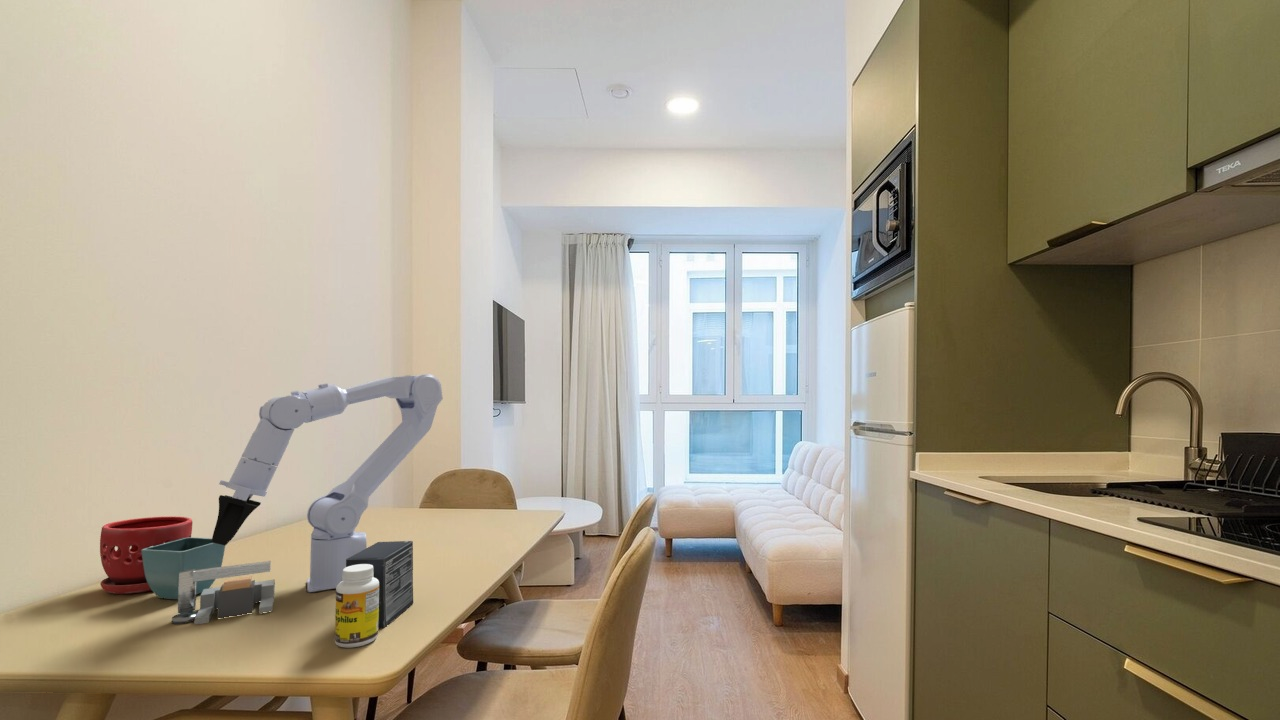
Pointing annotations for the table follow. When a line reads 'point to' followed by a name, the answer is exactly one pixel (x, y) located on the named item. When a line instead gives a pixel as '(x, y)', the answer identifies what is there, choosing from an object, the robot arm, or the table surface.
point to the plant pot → (135, 549)
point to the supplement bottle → (357, 607)
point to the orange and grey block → (236, 597)
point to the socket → (210, 596)
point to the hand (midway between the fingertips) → (221, 541)
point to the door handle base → (184, 617)
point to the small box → (390, 576)
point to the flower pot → (179, 563)
